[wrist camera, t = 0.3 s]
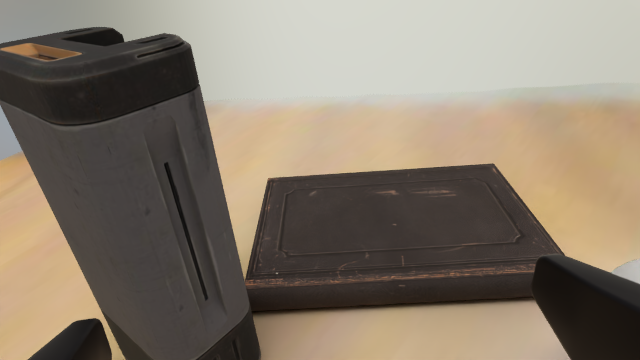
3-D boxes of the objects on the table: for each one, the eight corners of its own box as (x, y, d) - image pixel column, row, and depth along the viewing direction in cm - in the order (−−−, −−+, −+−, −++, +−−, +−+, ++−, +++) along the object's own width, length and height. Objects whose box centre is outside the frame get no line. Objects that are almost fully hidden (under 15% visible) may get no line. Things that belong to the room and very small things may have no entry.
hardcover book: (271, 196, 43) (267, 177, 42) (490, 182, 42) (494, 163, 41) (247, 316, 29) (241, 293, 28) (573, 299, 28) (581, 275, 27)
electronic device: (272, 357, 26) (205, 34, 16) (196, 434, 22) (47, 74, 12) (187, 295, 32) (97, 23, 22) (114, 349, 28) (-37, 49, 18)
